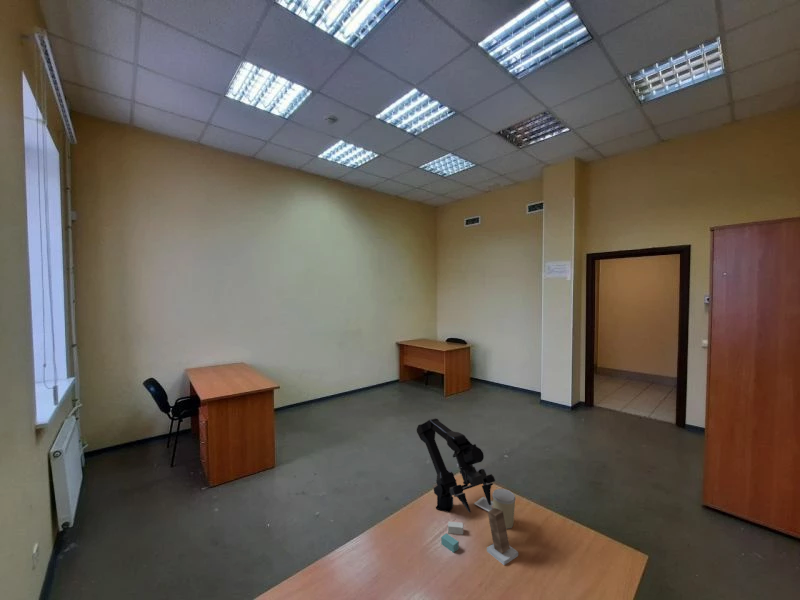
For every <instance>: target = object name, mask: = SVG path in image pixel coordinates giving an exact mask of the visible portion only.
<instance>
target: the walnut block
mask: <svg viewBox="0 0 800 600" xmlns="http://www.w3.org/2000/svg"><path fill="white" fill-rule="evenodd" d="M487 516H488V521H489V527H490V531H491V537H492V542H493V543H492V544H494V549H496V550H497V551H499V552H501V553H502V554H503V553H504V552H506V551H507V550H509V549H510V546H511V545H510V542H509V538H508V531H507V529H506V525H505V520H504V515H503V511H501V510H499V509H496V508H494V509H492V510H490V511H487Z"/></svg>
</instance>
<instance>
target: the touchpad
mask: <svg viewBox="0 0 800 600" xmlns="http://www.w3.org/2000/svg"><path fill="white" fill-rule="evenodd" d="M473 505H476V506H477V507H479V508H481V509H483V510H484V511H486V512H488V511H490V510H492V509H494V508H493V500H491V505H489V504H488V502H487V499H486V496H482V497H481V498H479V499H478V500H477V501H475V502H473Z"/></svg>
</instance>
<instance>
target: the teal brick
mask: <svg viewBox="0 0 800 600" xmlns="http://www.w3.org/2000/svg"><path fill="white" fill-rule="evenodd" d="M440 539H441V545H442V546H443V547H445V548H446V549H447V550H449V551H450V552H451V551H452V553H455V552H457V551H458V550H459V549H460V548H459V543H460V542H459V541H458V540H457V539H455V538H454V537H453V536H452V535H449V533H448V532H446V533H445V534H444V535H442V536H441V537H440Z"/></svg>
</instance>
